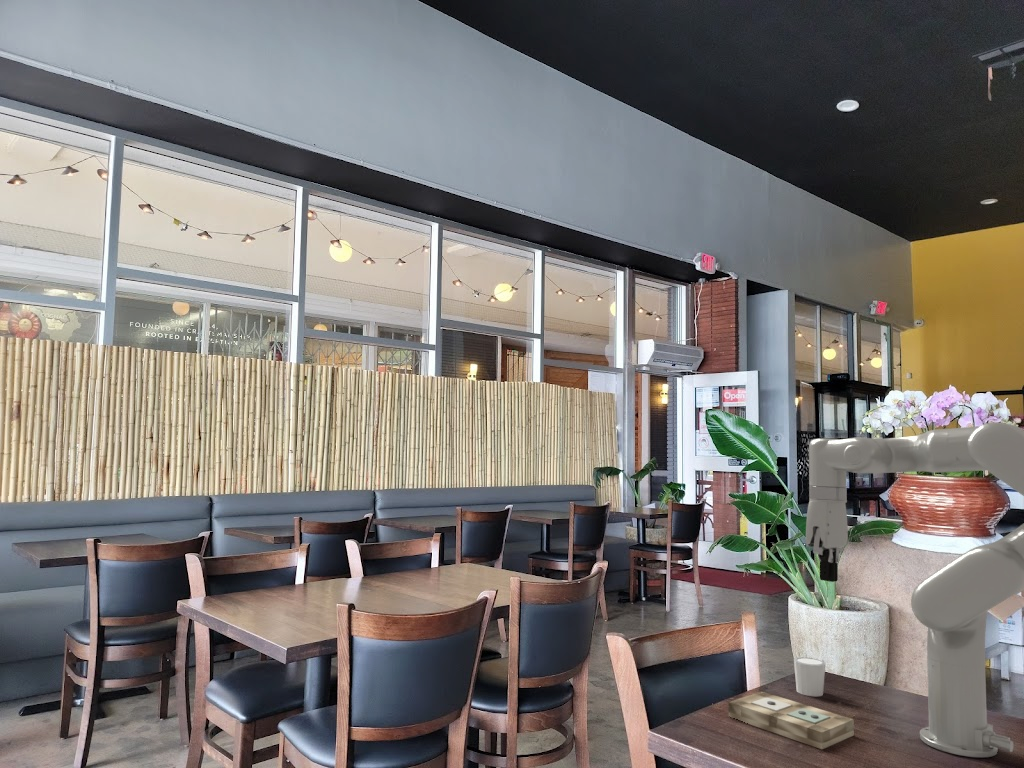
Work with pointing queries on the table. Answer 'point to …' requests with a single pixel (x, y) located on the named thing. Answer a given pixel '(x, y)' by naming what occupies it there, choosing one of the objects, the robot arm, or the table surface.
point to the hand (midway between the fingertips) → (828, 580)
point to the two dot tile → (808, 716)
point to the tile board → (792, 721)
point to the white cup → (809, 676)
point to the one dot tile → (771, 704)
